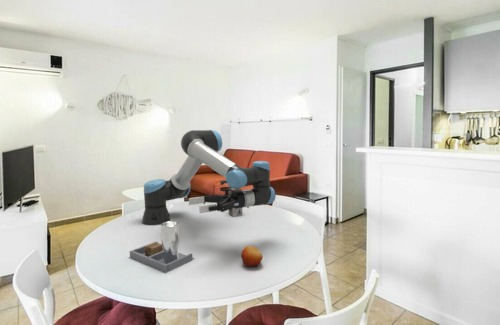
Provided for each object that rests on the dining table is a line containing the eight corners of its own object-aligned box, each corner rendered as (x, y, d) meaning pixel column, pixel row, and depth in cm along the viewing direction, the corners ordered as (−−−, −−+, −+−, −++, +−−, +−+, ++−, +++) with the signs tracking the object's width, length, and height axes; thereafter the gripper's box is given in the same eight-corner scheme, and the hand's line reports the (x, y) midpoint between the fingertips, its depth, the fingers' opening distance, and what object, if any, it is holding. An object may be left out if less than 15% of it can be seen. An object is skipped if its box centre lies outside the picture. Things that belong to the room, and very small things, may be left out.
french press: (234, 206, 195) (233, 173, 193) (220, 207, 194) (219, 173, 192) (233, 202, 207) (232, 170, 204) (219, 203, 206) (219, 171, 203)
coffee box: (228, 213, 179) (227, 187, 178) (237, 212, 182) (237, 187, 180) (233, 217, 171) (232, 190, 169) (243, 215, 173) (242, 189, 172)
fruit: (235, 257, 112) (246, 239, 112) (253, 266, 113) (263, 249, 113) (236, 267, 104) (247, 248, 104) (255, 276, 105) (266, 258, 105)
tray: (130, 258, 116) (129, 251, 116) (159, 247, 128) (159, 240, 127) (166, 274, 103) (165, 265, 103) (195, 259, 114) (195, 252, 114)
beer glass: (164, 267, 107) (162, 227, 106) (160, 260, 113) (158, 222, 112) (182, 262, 110) (181, 224, 109) (178, 256, 116) (176, 219, 115)
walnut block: (145, 255, 118) (144, 245, 118) (155, 251, 122) (154, 242, 122) (152, 258, 115) (151, 248, 115) (162, 253, 119) (162, 244, 119)
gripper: (256, 214, 114) (205, 223, 104) (229, 201, 136) (185, 207, 126) (256, 196, 113) (204, 203, 103) (229, 185, 135) (184, 190, 125)
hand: (194, 205), depth 114 cm, fingers open, 13 cm apart
